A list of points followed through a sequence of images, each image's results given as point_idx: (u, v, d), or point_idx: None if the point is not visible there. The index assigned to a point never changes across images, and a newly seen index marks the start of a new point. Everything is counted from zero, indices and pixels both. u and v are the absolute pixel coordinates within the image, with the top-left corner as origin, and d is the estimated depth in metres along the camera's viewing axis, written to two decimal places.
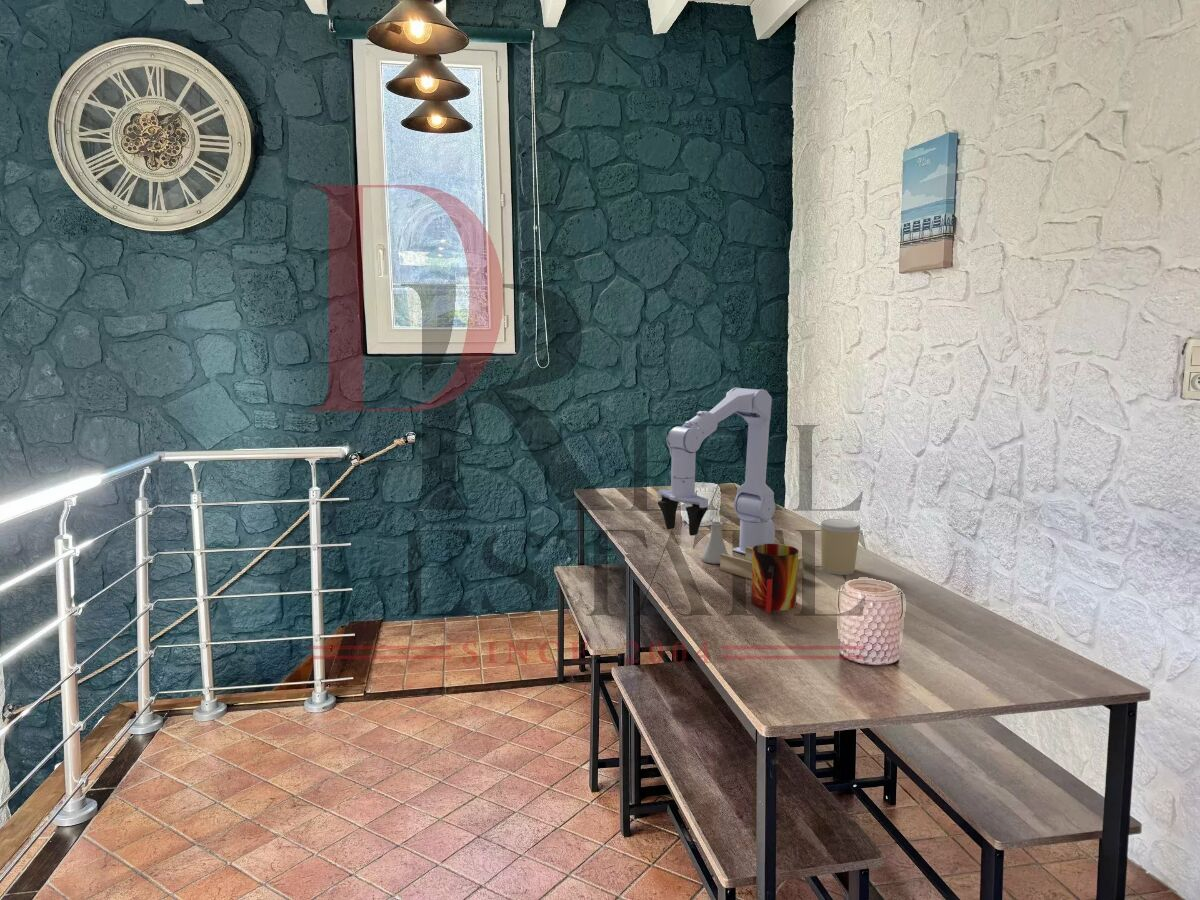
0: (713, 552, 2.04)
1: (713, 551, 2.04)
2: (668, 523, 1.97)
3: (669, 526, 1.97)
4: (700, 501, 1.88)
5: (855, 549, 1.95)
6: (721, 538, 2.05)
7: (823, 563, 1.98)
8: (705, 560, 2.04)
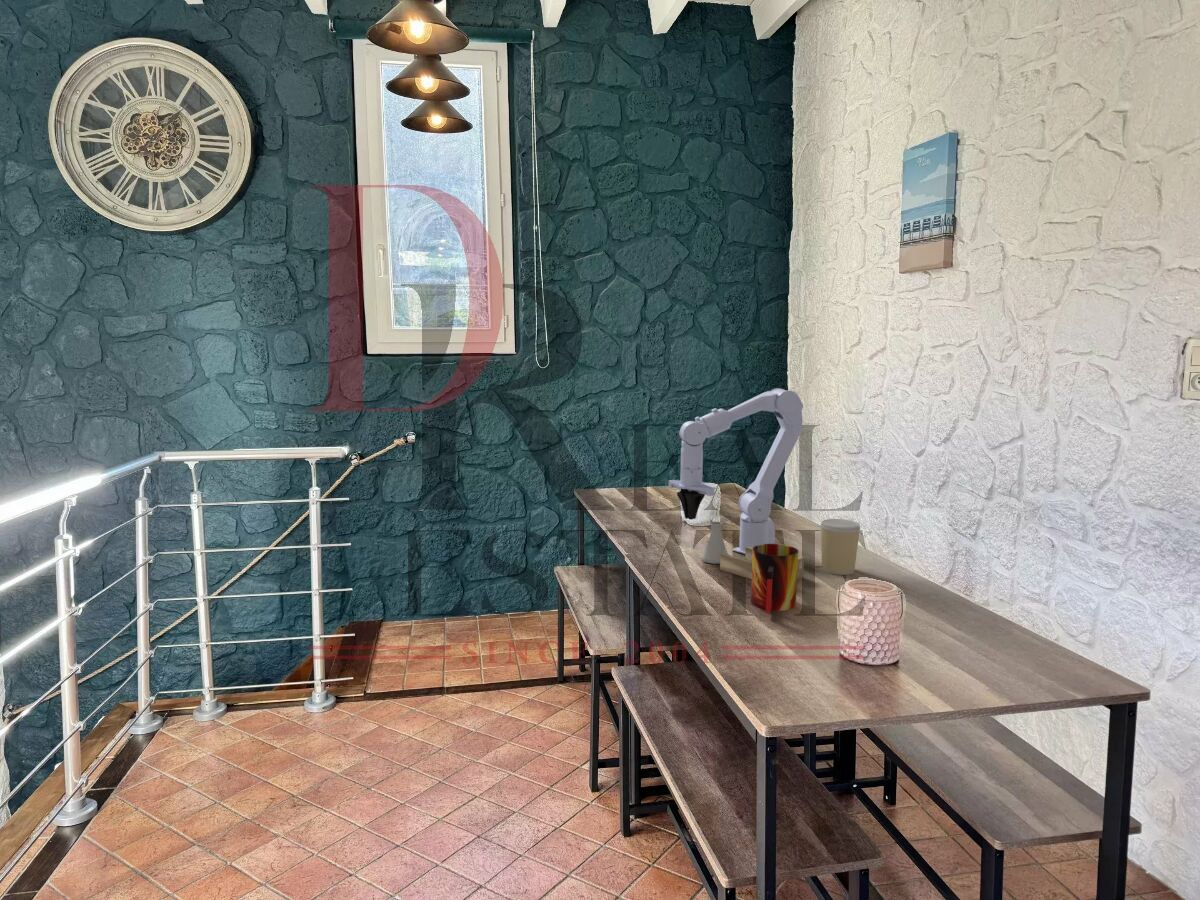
0: (713, 552, 2.04)
1: (713, 551, 2.04)
2: (686, 513, 2.11)
3: (687, 515, 2.11)
4: (707, 490, 2.05)
5: (855, 549, 1.95)
6: (721, 538, 2.05)
7: (823, 563, 1.98)
8: (705, 560, 2.04)
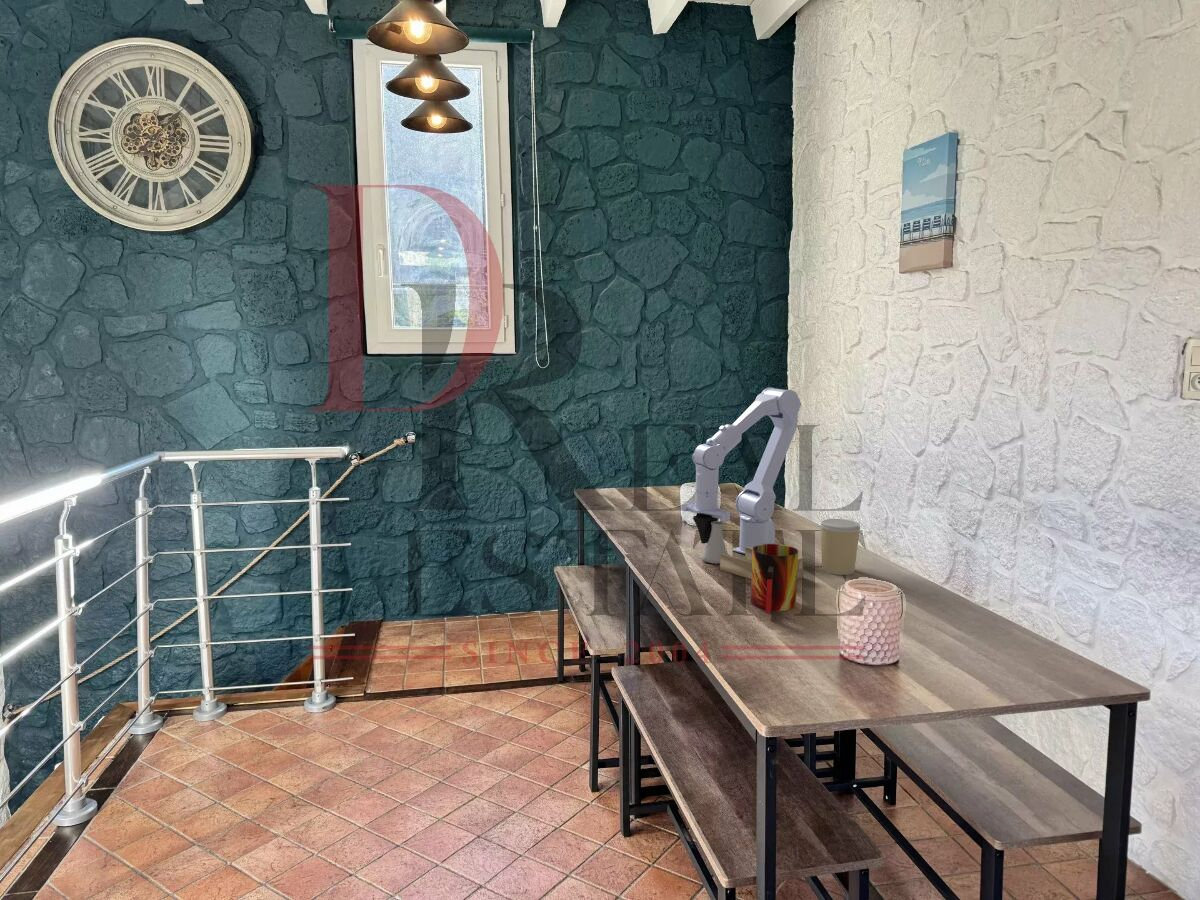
0: (713, 551, 2.04)
1: (713, 551, 2.04)
2: None
3: None
4: (723, 514, 2.02)
5: (855, 549, 1.95)
6: (721, 538, 2.04)
7: (823, 563, 1.98)
8: (705, 560, 2.04)
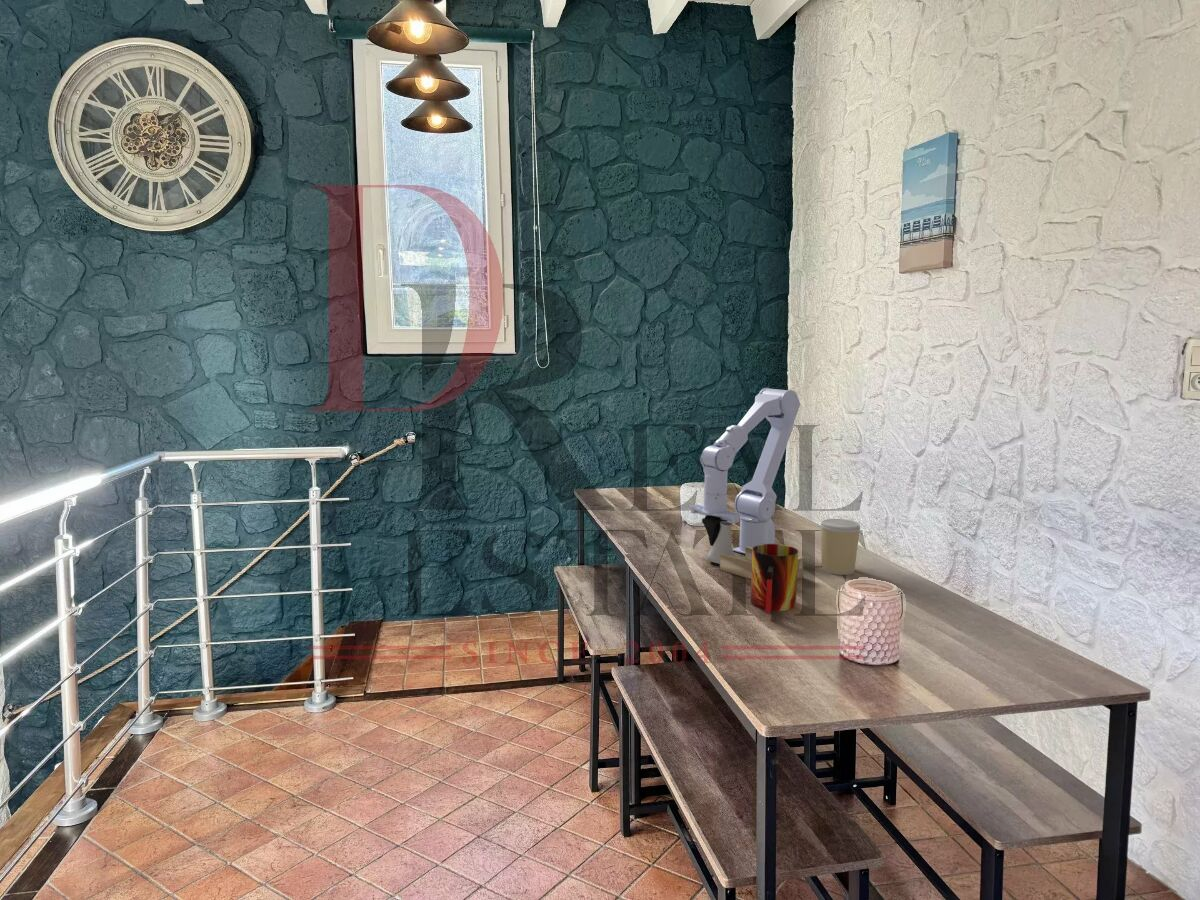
0: (719, 552, 2.02)
1: (719, 551, 2.02)
2: (712, 540, 2.05)
3: (712, 542, 2.06)
4: (732, 516, 1.99)
5: (855, 549, 1.95)
6: (729, 539, 2.02)
7: (823, 563, 1.98)
8: (710, 559, 2.03)
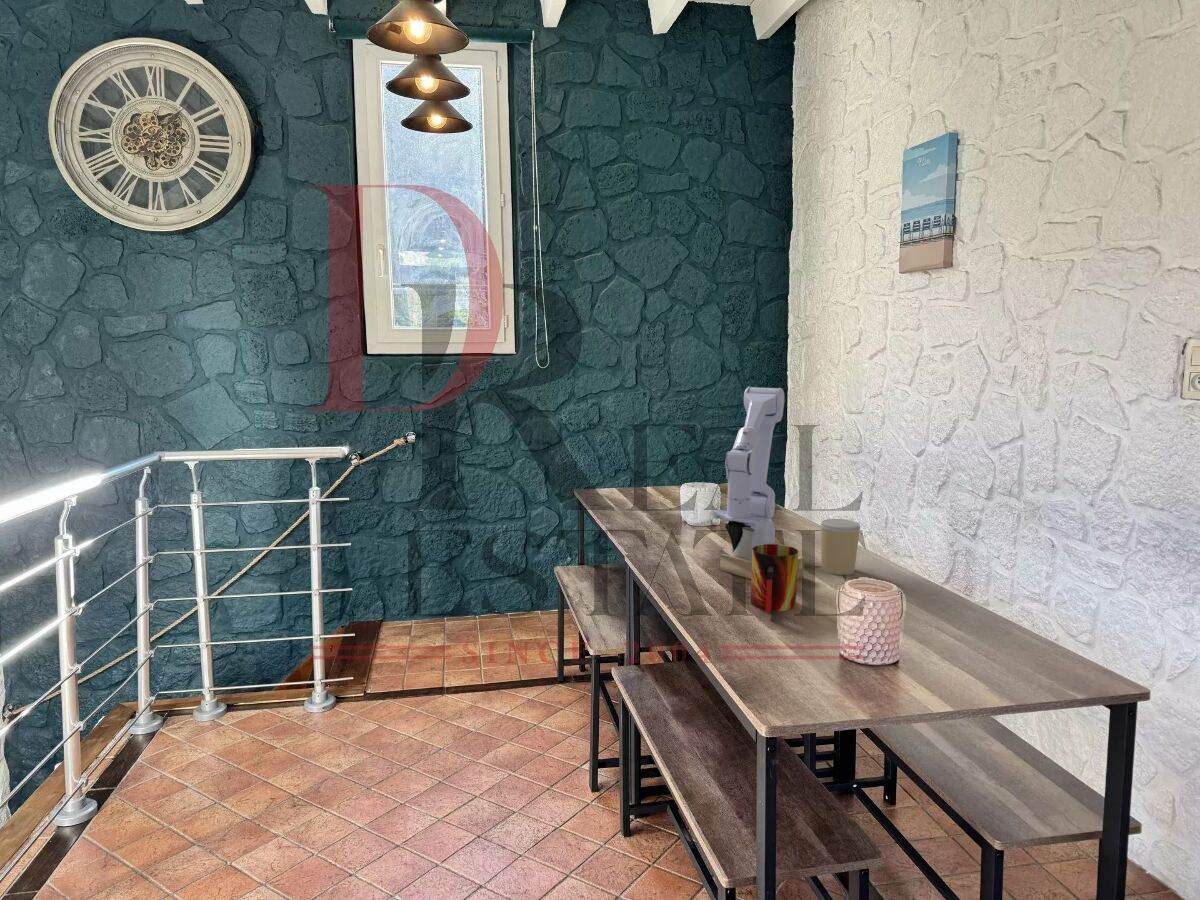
0: (738, 557, 1.96)
1: (738, 557, 1.96)
2: (735, 546, 2.00)
3: None
4: (757, 522, 1.94)
5: (855, 549, 1.95)
6: (750, 546, 1.96)
7: (823, 563, 1.98)
8: None
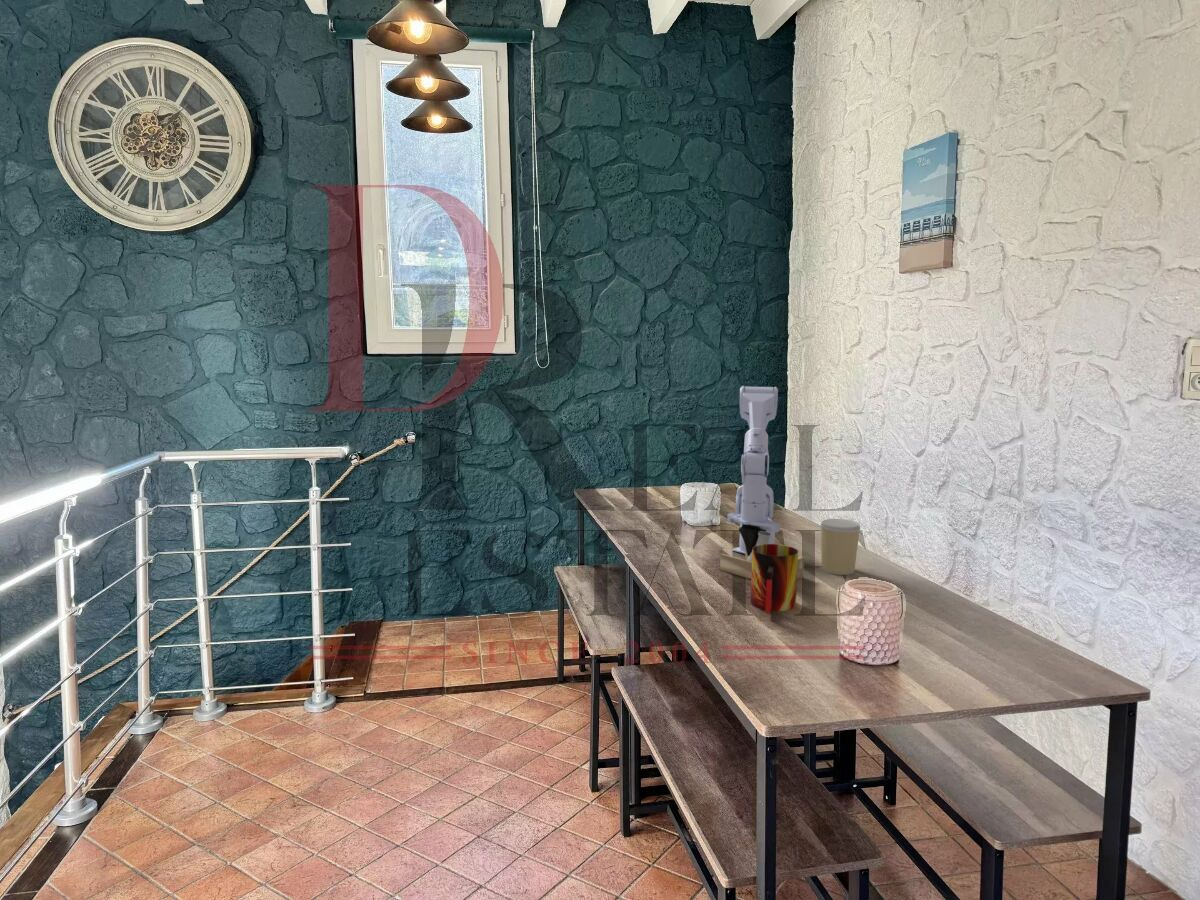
0: None
1: None
2: None
3: None
4: (772, 526, 1.90)
5: (855, 549, 1.95)
6: None
7: (823, 563, 1.98)
8: None
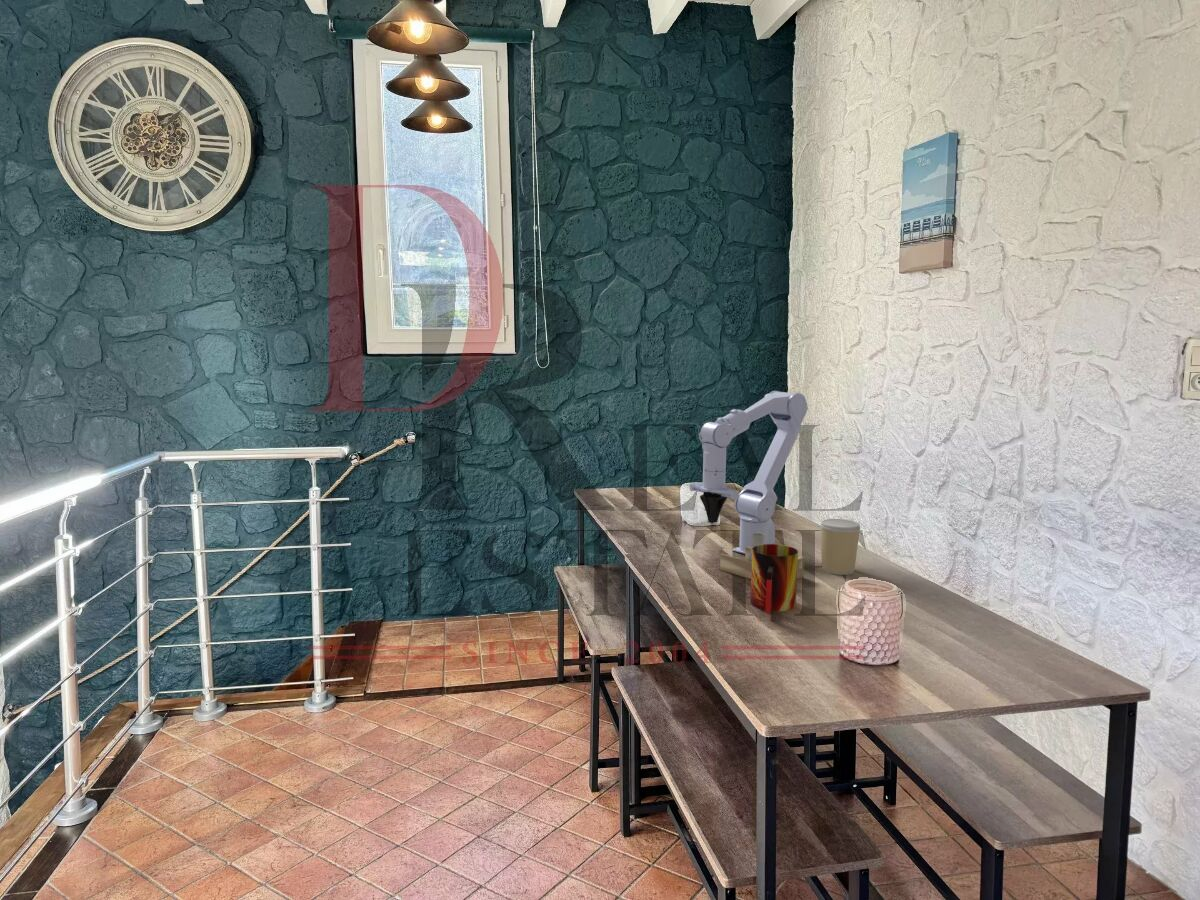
0: None
1: None
2: None
3: None
4: (732, 493, 1.99)
5: (855, 549, 1.95)
6: None
7: (823, 563, 1.98)
8: None
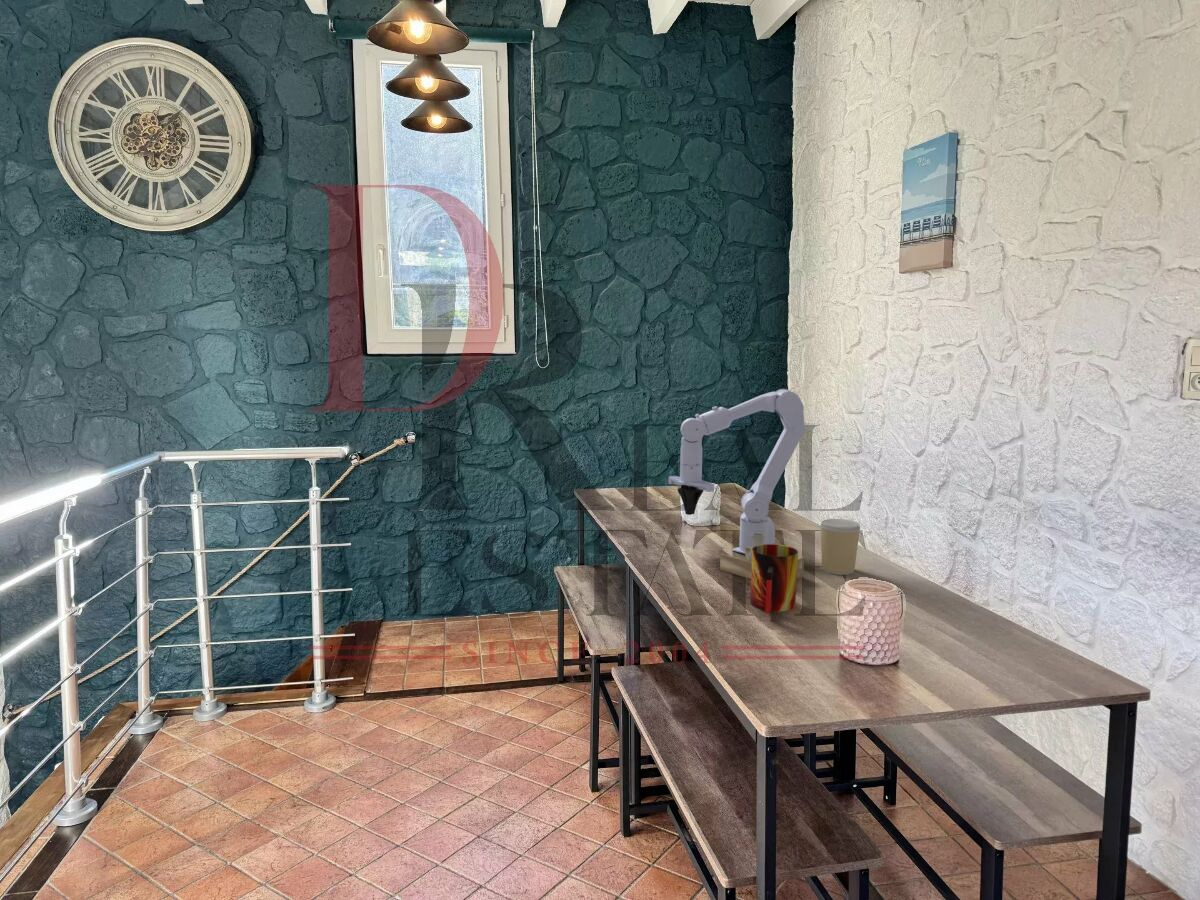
0: None
1: None
2: None
3: None
4: (707, 486, 2.08)
5: (855, 549, 1.95)
6: None
7: (823, 563, 1.98)
8: None
